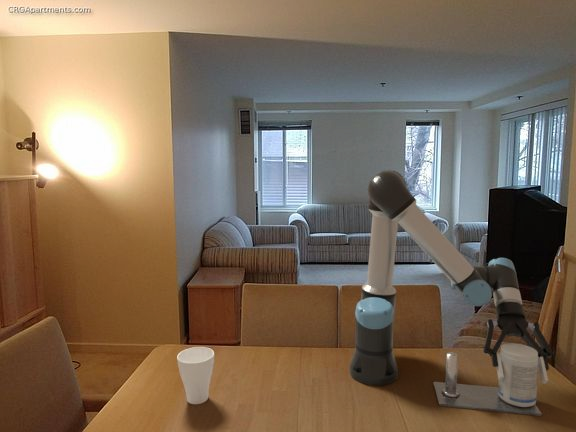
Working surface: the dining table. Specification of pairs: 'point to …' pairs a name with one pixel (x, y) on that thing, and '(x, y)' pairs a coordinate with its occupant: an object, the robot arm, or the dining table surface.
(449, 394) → the steel pin
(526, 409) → the grey flat rectangular plate
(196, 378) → the cup
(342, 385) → the dining table surface
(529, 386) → the supplement tub
